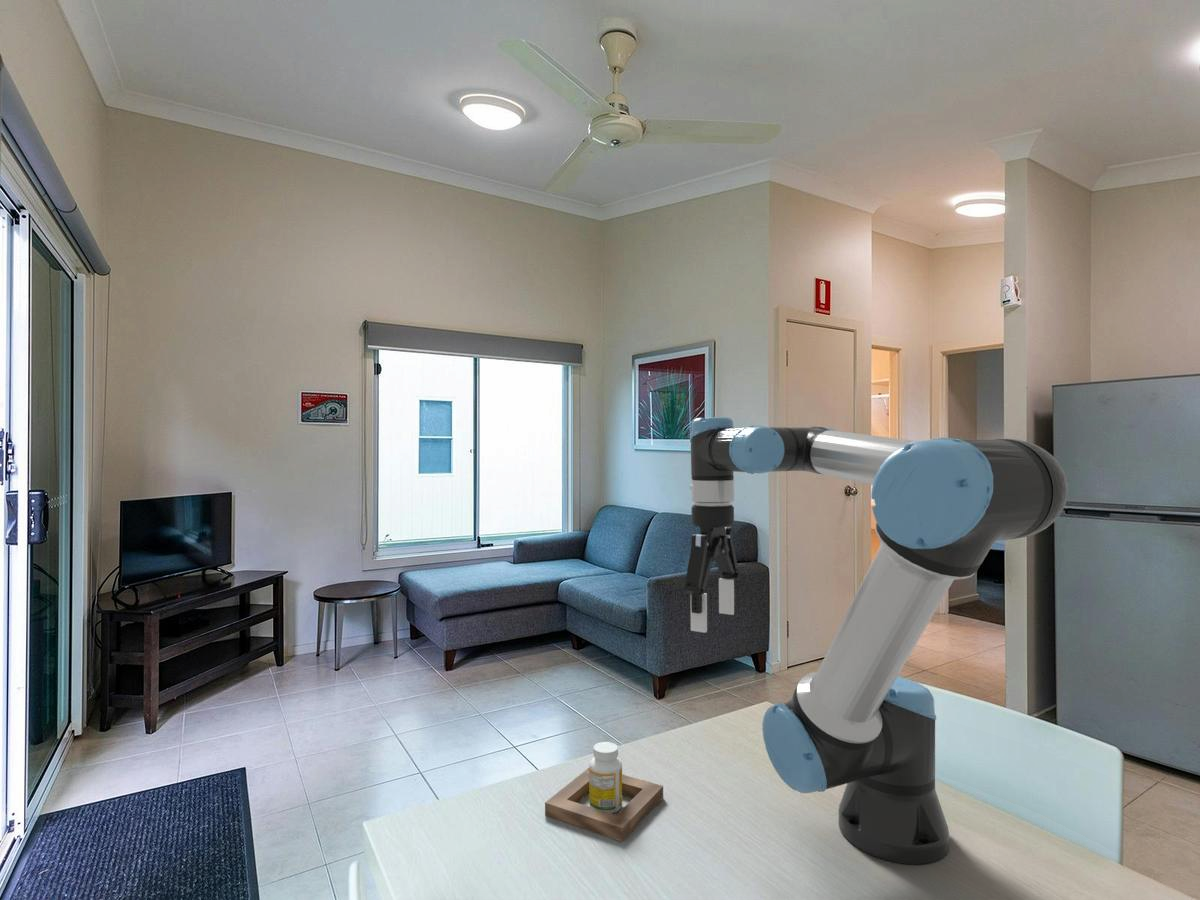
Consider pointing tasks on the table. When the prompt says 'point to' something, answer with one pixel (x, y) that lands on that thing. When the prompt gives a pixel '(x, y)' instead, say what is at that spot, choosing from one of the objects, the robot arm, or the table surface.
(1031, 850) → the table surface
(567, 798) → the holder frame
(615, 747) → the supplement bottle
